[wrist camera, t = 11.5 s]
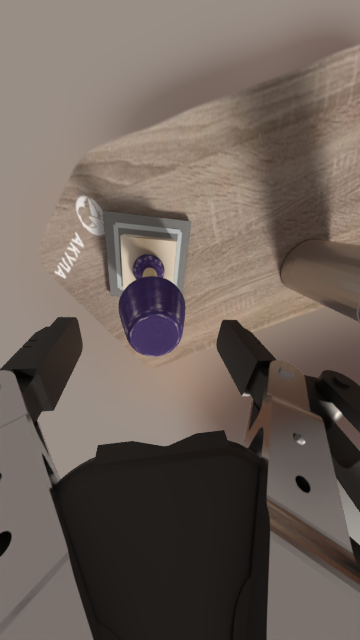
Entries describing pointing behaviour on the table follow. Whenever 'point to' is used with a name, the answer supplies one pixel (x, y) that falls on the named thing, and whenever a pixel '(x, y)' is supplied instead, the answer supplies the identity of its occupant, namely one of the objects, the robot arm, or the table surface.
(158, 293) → the toy lamp
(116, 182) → the table surface
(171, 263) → the cream block
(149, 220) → the slate board
